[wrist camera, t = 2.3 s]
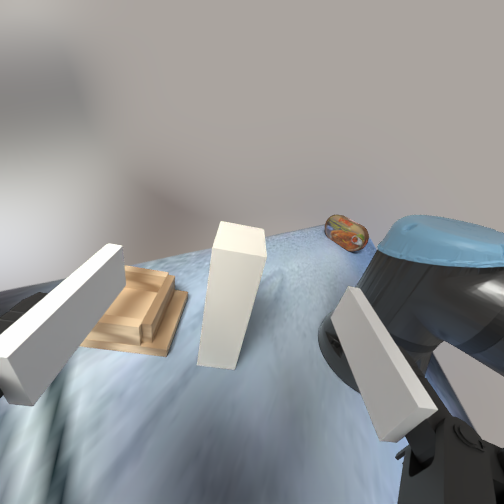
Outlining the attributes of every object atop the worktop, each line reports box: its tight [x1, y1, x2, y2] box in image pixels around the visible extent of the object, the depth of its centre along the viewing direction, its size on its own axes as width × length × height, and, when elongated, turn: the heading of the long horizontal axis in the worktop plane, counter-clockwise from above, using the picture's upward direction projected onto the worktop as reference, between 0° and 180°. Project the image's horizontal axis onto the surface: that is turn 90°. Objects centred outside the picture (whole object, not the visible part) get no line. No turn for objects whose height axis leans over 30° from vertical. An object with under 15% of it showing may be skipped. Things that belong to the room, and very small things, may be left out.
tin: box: [325, 215, 369, 251], centre depth 70 cm, size 15×3×8 cm, turn 29°
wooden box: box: [80, 265, 188, 357], centre depth 32 cm, size 14×11×5 cm
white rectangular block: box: [197, 221, 267, 370], centre depth 27 cm, size 5×6×18 cm
